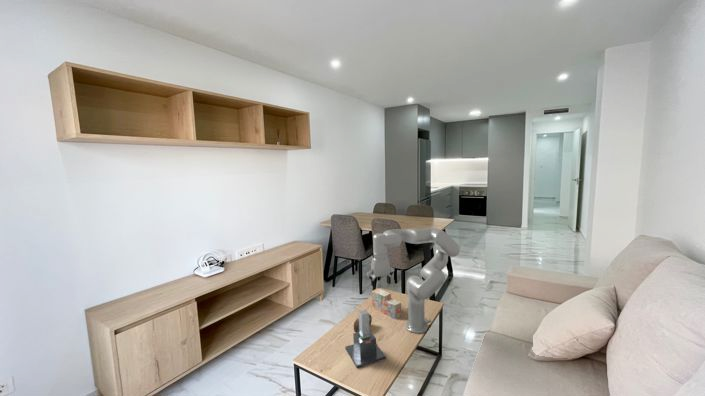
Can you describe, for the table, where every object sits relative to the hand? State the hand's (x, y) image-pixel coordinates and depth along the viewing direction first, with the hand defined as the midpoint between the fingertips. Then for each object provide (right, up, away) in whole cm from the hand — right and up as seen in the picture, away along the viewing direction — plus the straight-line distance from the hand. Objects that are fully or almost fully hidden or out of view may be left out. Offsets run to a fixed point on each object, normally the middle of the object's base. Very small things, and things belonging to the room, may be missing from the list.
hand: (381, 285), depth 162 cm
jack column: (-10, -25, -14) cm, 30 cm away
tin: (-10, -30, +10) cm, 33 cm away
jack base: (-10, -32, -13) cm, 36 cm away
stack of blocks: (+7, -27, +30) cm, 41 cm away
